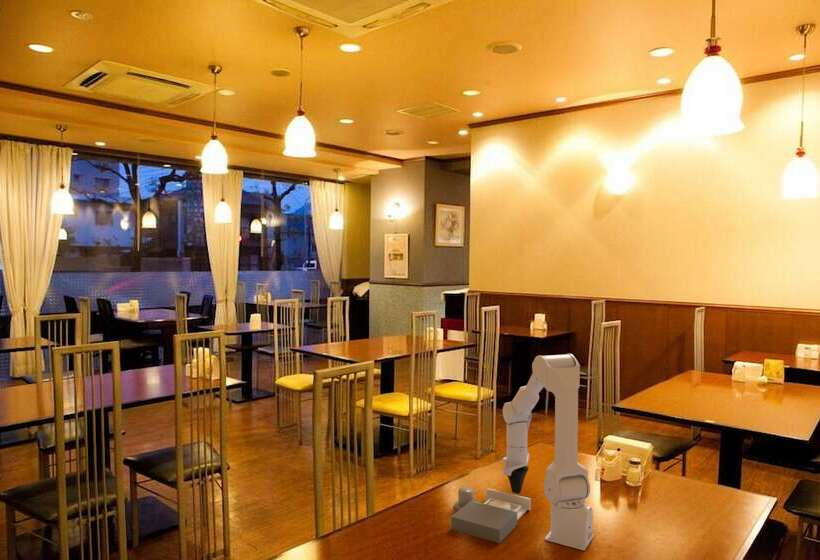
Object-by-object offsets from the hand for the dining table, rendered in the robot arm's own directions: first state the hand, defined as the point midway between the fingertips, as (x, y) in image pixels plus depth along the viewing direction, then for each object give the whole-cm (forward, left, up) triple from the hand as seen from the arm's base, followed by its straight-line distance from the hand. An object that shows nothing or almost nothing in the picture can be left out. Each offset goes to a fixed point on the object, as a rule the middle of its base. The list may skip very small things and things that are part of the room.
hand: (516, 492), depth 162 cm
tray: (0, +12, -1) cm, 12 cm away
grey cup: (+9, +13, -1) cm, 16 cm away
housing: (0, +21, -1) cm, 21 cm away
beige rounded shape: (0, +12, -1) cm, 12 cm away
